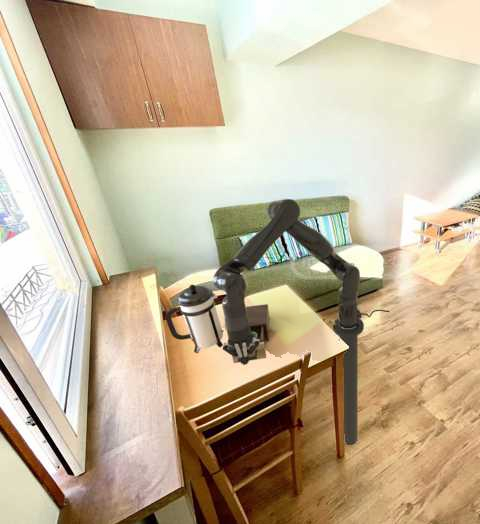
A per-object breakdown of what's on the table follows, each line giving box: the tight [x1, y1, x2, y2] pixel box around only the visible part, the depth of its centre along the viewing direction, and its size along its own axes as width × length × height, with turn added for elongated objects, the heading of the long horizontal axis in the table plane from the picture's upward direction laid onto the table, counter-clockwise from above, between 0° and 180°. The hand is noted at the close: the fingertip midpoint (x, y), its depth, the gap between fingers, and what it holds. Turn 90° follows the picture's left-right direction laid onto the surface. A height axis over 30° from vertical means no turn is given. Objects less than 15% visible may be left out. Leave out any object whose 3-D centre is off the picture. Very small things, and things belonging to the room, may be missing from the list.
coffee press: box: [165, 284, 224, 354], centre depth 116 cm, size 17×16×30 cm
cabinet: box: [246, 303, 271, 342], centre depth 129 cm, size 17×14×9 cm
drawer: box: [231, 326, 267, 364], centre depth 115 cm, size 20×13×7 cm, turn 13°
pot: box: [251, 332, 258, 344], centre depth 117 cm, size 6×6×6 cm
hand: (245, 363), depth 102 cm, fingers closed
